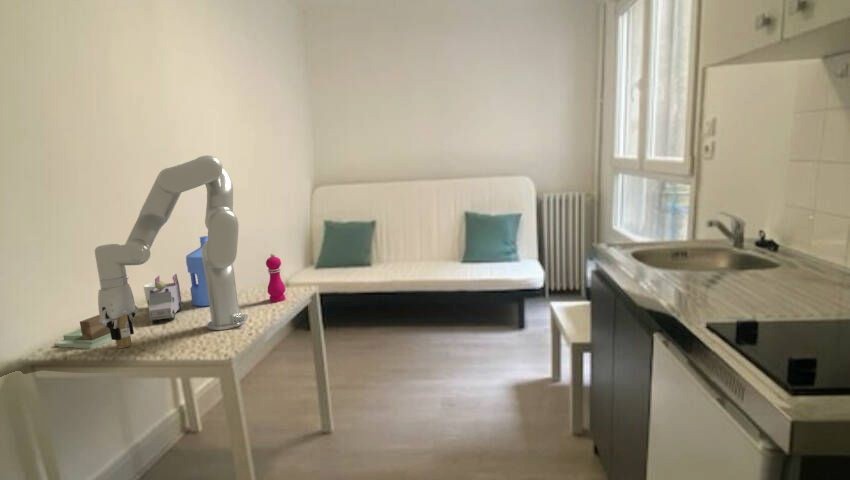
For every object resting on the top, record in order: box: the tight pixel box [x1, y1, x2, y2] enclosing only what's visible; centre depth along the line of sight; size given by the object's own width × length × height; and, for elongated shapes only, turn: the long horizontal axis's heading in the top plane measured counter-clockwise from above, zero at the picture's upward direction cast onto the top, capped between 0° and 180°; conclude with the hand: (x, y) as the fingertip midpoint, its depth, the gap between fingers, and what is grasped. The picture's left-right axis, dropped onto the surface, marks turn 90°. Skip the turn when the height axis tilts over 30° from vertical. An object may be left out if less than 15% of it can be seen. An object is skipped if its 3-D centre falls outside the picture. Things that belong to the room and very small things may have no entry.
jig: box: [53, 328, 113, 350], centre depth 173 cm, size 15×15×3 cm
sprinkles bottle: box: [115, 310, 133, 349], centre depth 163 cm, size 5×5×14 cm
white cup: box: [142, 281, 166, 310], centre depth 208 cm, size 8×8×10 cm
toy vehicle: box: [146, 273, 183, 323], centre depth 194 cm, size 9×20×15 cm, turn 15°
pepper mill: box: [265, 252, 286, 303], centre depth 208 cm, size 7×7×20 cm
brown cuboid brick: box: [79, 314, 113, 341], centre depth 171 cm, size 4×10×7 cm, turn 165°
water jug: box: [185, 235, 210, 307], centre depth 211 cm, size 16×16×28 cm
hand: (122, 336), depth 164 cm, fingers closed on sprinkles bottle, 4 cm apart
